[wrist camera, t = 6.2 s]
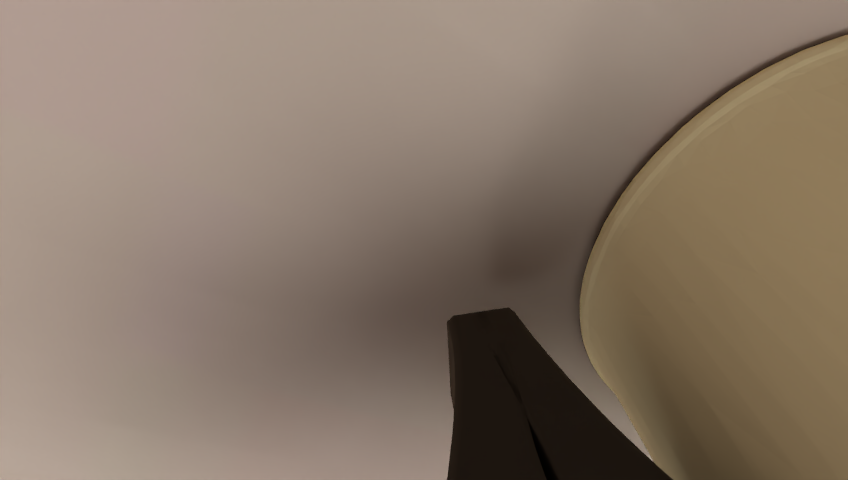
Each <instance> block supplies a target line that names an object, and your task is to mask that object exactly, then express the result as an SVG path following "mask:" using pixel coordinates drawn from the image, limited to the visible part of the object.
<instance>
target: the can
mask: <svg viewBox="0 0 848 480" xmlns="http://www.w3.org/2000/svg"><path fill="white" fill-rule="evenodd" d="M580 325H581V334H582V338H583V343H584V346H585V349H586V352H587V354H588V357H589V359H590V361H591V363H592V365H593V367H594V368H595V370H596V371H597V373H598V375H599V376H600V378H601V379H602V380H603V381H604V382H605V384H606V385H607V386H608V387H609V388H610V389H611V390H612V391H613V392H614V393H615V395H616V396H617V398H618V400H619V401H620V403H621V405H622V407H623V408H624V410H625V412H626V414H627V415H628V417H629V419H630V420H631V422H632V424H633V426H634V427H635V429H636V431H637V433H638V434H639V436H640V438H641V440H642V441H643V443H644V445H645V447H646V448H647V450H648V452H649V454H650V455H651V457H652V459H653V461H654V463H655V464H656V465H657V466H658V467H659V468H660V469H662V470H663V471H664V472H665V473H666V474H667V475H668V476H670V477H671V478H672V479H673V480H848V35H844V36H841V37H838V38H835V39H833V40H830V41H827V42H824V43H822V44H819V45H816V46H813V47H810V48H808V49H805V50H802V51H800V52H798V53H796V54H794V55H792V56H790V57H788V58H786V59H784V60H782V61H780V62H778V63H776V64H773V65H771V66H769V67H767V68H765V69H764V70H762V71H760V72H759V73H757V74H755V75H754V76H752V77H750V78H749V79H747V80H745V81H744V82H742V83H741V84H739V85H737V86H736V87H734V88H732V89H731V90H729V91H728V92H727V93H725V94H724V95H722V96H721V97H720V98H718V99H717V100H716V101H714V102H713V103H712V104H710V105H709V106H708V107H706V108H705V109H704V110H702V111H701V112H700V113H698V114H697V115H696V116H695V117H694V118H692V119H691V120H690V121H689V122H688V123H687V124H685V125H684V126H683V127H682V128H681V129H680V130H679V131H678V132H677V133H676V134H675V135H674V136H673V137H672V138H671V139H670V140H669V141H667V142H666V143H665V144H664V145H663V146H662V147H661V148H660V149H659V150H658V151H657V152H656V153H655V154H654V155H653V157H652V158H651V159H650V160H649V161H648V162H647V163H646V165H645V166H644V167H643V168H642V169H641V170H640V172H639V173H638V174H637V175H636V176H635V177H634V179H633V180H632V181H631V183H630V184H629V185H628V187H627V188H626V190H625V191H624V192H623V194H622V195H621V197H620V198H619V200H618V201H617V203H616V205H615V206H614V208H613V210H612V211H611V213H610V214H609V216H608V218H607V219H606V221H605V223H604V225H603V227H602V229H601V231H600V234H599V236H598V238H597V240H596V242H595V245H594V247H593V249H592V251H591V254H590V257H589V260H588V263H587V266H586V270H585V273H584V277H583V282H582V288H581V294H580Z"/></svg>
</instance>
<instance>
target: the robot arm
mask: <svg viewBox="0 0 848 480" xmlns="http://www.w3.org/2000/svg"><path fill="white" fill-rule="evenodd" d="M447 330H448V349H449V368H450V387H451V397H452V402H453V408H454V422H453V434H452V443H451V452H450V461H449V470H448V478H447V480H673V479H672V478H671V477H670V476H668V475H667V474H666V473H665V472H664V471H663V470H662V469H660V468H659V467H658V466H657V465H656V464H655V463H654V462H653V461H652V460H650V459H649V458H648V457H647V456H646V455H645V454H644V453H643V452H642V451H641V450H639V449H638V448H637V447H636V446H635V445H634V444H633V443H632V442H631V441H630V440H629V439H628V438H627V437H626V436H625V435H624V434H623V433H622V432H621V431H620V430H619V429H617V428H616V427H615V426H614V425H613V424H612V423H611V422H610V421H609V420H608V419H607V418H606V417H605V416H604V415H603V414H602V413H601V412H600V411H599V410H598V409H597V408H596V406H595V405H594V404H593V403H592V402H591V401H590V400H589V399H588V398H587V397H586V396H585V395H584V394H583V393H582V392H581V390H580V389H579V388H578V387H577V386H576V385H575V384H574V383H573V382H572V381H571V380H570V379H569V378H568V377H567V375H566V374H565V373H564V372H563V371H562V370H561V369H560V368H559V366H558V365H557V364H556V363H555V362H554V361H553V359H552V358H551V357H550V356H549V355H548V354H547V352H546V351H545V350H544V349H543V348H542V346H541V345H540V344H539V343H538V342H537V340H536V339H535V338H534V337H533V335H532V334H531V333H530V332H529V330H528V329H527V328H526V327H525V325H524V324H523V323H522V321H521V320H520V319H519V317H518V316H517V315H516V313H515V312H514V311H512V310H511V309H510V308H502V309H495V310H488V311H482V312H475V313H469V314H462V315H456V316H453V317H452V318H451V319H450V320H449V321H448V322H447Z"/></svg>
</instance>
